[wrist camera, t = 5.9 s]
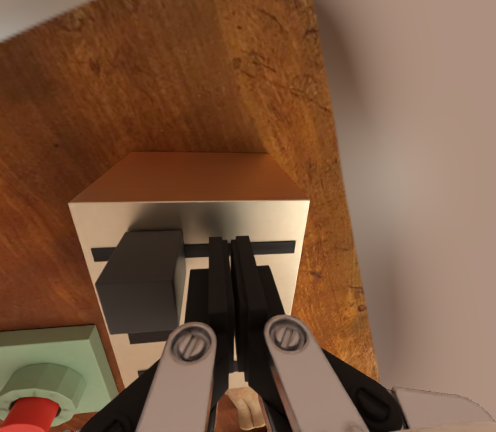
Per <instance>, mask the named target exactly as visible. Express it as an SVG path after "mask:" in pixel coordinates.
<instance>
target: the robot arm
mask: <svg viewBox="0 0 496 432" xmlns="http://www.w3.org/2000/svg"><path fill="white" fill-rule="evenodd" d="M234 336H235V346H236V356H237V366H238V372H244V378H245V382H248V386H249V387H250V388H252V389H253V390H254V391H255V392H256V393H258V400H259V404H260V407H261V410H262V414H263V417H264V421H265V424H266V427H267V431H268V432H496V421H495V420H494V419H493V418H492V417H491V415H490V414H489V413H488V412H487V411H486V410H484V409H483V408H482V407H481V406H480V405H479V404H477V403H475V402H473V401H472V400H470V399H468V398H466V397H462V396H459V395H453V394H446V393H438V392H431V391H424V390H415V389H409V388H401V387H393V388H392V390H389V389H386V388H384V387H383V386H382V385H380V384H379V383H378V382H376V381H375V380H373V379H371V378H370V377H368V376H366V375H365V374H363V373H362V372H360V371H358V370H357V369H355V368H353V367H352V366H350V365H348V364H347V363H345V362H344V361H342V360H340V359H339V358H337V357H335V356H334V355H332V354H331V353H329V352H327V351H326V350H324V349H322V348H321V347H320V346H319V344H318V343H317V341H316V339H315V338H314V336H313V334H312V333H311V331H310V329H309V328H308V326H307V325H306V324H305V323H304V322H303V321H301V320H300V319H299V318H296V317H294V316H291V315H286V314H285V311H284V308H283V305H282V302H281V299H280V296H279V293H278V290H277V287H276V284H275V281H274V278H273V275H272V272H271V269H270V266H269V265H262V266H257V265H256V261H255V257H254V253H253V250H252V246H251V242H250V238H249V236H236V238H235V239H232V240H231V266H230V262H229V253H228V244H227V240H222V237H209V268H206V269H190V275H189V284H188V293H187V302H186V311H185V320H184V324H183V325H181V326H179V327H177V328H176V329H175V330H174V331H173V332H172V333H171V334H170V335H169V337H168V339H167V341H166V343H165V346H164V349H163V352H162V355H161V358H160V359H159V360H158V361H156V362H155V363H154V364H153V365H152V366H151V367H150V368H148V369H147V370H146V371H145V372H144V373H143V374H141V375H140V376H139V377H138V378H137V379H136V380H135V381H133V382H132V383H131V384H130V385H129V386H128V387H127V388H125V389H124V390H123V391H122V392H121V393H120V394H119V395H117V396H116V397H115V398H114V399H113V400H112V401H111V402H109V403H108V404H107V405H106V406H105V407H104V408H103V409H101V410H100V411H99V412H98V413H97V414H96V415H94V416H93V417H92V418H91V419H90V420H89V421H88V422H87V423H86V424H85V425H84V426H83V427H82V428H81V429H78V430H75V431H73V432H215V431H216V421H217V412H218V401H219V400H220V398H221V397H222V396H223V395H224V393H225V392H226V391H227V390H228V388H229V373H234ZM61 432H70V430H69V429H67V430H64V431H61Z"/></svg>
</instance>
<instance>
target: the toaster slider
mask: <svg viewBox="0 0 496 432" xmlns="http://www.w3.org/2000/svg"><path fill="white" fill-rule="evenodd" d="M185 279H186V263H185V252H184V240H183V232H182V231H145V232H125V233H124V235H123V237H122V238H121V240H120V242H119V243H118V245H117V247H116V248H115V250H114V252H113V254H112V255H111V257H110V259H109V260H108V262H107V264H106V265H105V267H104V269H103V270H102V272H101V274H100V276H99V277H98V279H97V281H96V282H95V287H96V290H97V293H98V297H99V300H100V303H101V306H102V310H103V313H104V316H105V320H106V323H107V326H108V329H109V333H110V334H111V335H115V334H127V333H140V332H152V331H164V330H175V329H176V328H177V327H179V325H180V318H181V310H182V302H183V295H184V287H185Z"/></svg>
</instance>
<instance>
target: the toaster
mask: <svg viewBox="0 0 496 432" xmlns="http://www.w3.org/2000/svg"><path fill="white" fill-rule="evenodd" d="M309 203H310V199H309V198H308V197H307V196H306V195H305V194H304V193H303V191H302V190H301V189H300V188H299V187H298V186H297V185H296V184H295V182H294V181H293V180H292V179H291V178H290V177H289V176H288V174H287V173H286V172H285V171H284V170H283V169H282V168H281V167H280V165H279V164H278V163H277V162H276V161H275V160H274V159H273V157H272V156H271V155H270V154H269V153H213V152H140V151H132V152H130V153H129V154H128V155H126V156H125V157H124V158H123V159H122V160H120V161H119V162H118V163H117V164H115V165H114V166H113V167H112V168H110V169H109V170H108V171H107V172H106V173H104V174H103V175H102V176H101V177H99V178H98V179H97V180H96V181H94V182H93V183H92V184H91V185H90V186H88V187H87V188H86V189H85V190H83V191H82V192H81V193H80V194H78V195H77V196H76V197H75V198H74V199H72V200H71V201H70V202H69V203H68V206H69V209H70V212H71V215H72V218H73V222H74V225H75V228H76V231H77V235H78V238H79V241H80V244H81V248H82V251H83V254H84V257H85V260H86V264H87V267H88V270H89V273H90V277H91V280H92V283H93V286H94V290H95V293H96V296H97V299H98V302H99V306H100V309H101V312H102V315H103V319H104V322H105V325H106V328H107V332H108V335H109V338H110V341H111V344H112V348H113V351H114V354H115V357H116V361H117V364H118V367H119V370H120V374H121V377H122V380H123V383H124V386H125V388H127V387H128V386H129V385H130V384H131V383H132V382H133V381H135V380H136V379H137V378H138V377H139V376H140V375H141V374H143V373H144V372H145V371H146V370H147V369H148V368H150V367H151V366H152V365H153V364H154V363H155V362H156V361H158V360H159V359H160V358H161V355H162V352H163V349H164V346H165V343H166V341H167V339H168V337H169V335H170V334H171V333H172V332H173V331H174V330H164V331H152V332H140V333H127V334H115V335H111V334H110V333H109V329H108V326H107V323H106V320H105V316H104V313H103V310H102V306H101V303H100V300H99V297H98V293H97V290H96V287H95V282H96V281H97V279H98V277H99V276H100V274H101V272H102V270H103V269H104V267H105V265H106V264H107V262H108V260H109V259H110V257H111V255H112V254H113V252H114V250H115V248H116V247H117V245H118V243H119V242H120V240H121V238H122V237H123V235H124V233H125V232H145V231H182V232H183V240H184V252H185V263H186V279H185V287H184V295H183V302H182V310H181V318H180V325H179V326H181V325H183V324H184V320H185V311H186V302H187V293H188V284H189V275H190V269H206V268H209V237H222V240H227V244H228V253H229V262H230V266H231V240H232V239H235V238H236V236H249V238H250V242H251V246H252V250H253V253H254V257H255V261H256V265H257V266H262V265H269V266H270V269H271V272H272V275H273V278H274V281H275V284H276V287H277V290H278V293H279V296H280V299H281V302H282V305H283V308H284V311H285V314H286V315H291V309H292V303H293V297H294V291H295V286H296V280H297V274H298V268H299V262H300V256H301V250H302V244H303V239H304V233H305V227H306V221H307V215H308V209H309ZM241 387H249V386H248V382H245V378H244V372H238V366H237V356H236V346H235V336H234V373H229V388H228V389H233V388H241Z"/></svg>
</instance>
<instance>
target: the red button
mask: <svg viewBox="0 0 496 432" xmlns="http://www.w3.org/2000/svg"><path fill="white" fill-rule="evenodd" d="M58 409H59V404H58V403H56V402H54V401H52V400H50V399H48V398H42V397H36V396H32V397H23V398H19V399H18V400H17V401H16V402H15V404H14V406H13V407H12V409H11V410H10V412H9V414H8V415H7V417H6V418H5V420H4V422H3V423H2V425H1V427H0V432H48V431H49V428H50V426H51V424H52V422H53V420H54V418H55V416H56V414H57V411H58Z"/></svg>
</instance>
